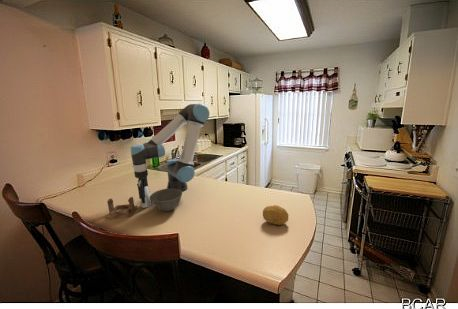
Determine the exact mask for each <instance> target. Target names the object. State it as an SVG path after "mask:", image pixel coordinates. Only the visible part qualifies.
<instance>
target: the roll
mask: <svg viewBox="0 0 458 309" xmlns="http://www.w3.org/2000/svg"><path fill="white" fill-rule="evenodd" d="M144 188H145V189H144V190H145V197H146V202H147V207H146V208H149V207H150V206H151V204H152V203H151V202H152V201H151V200H150V196H151V195H150V192H149V191H150V189H148V188H149V185H148V186H145V187H144ZM140 205H141V207H142V202H141V199H140Z"/></svg>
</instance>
